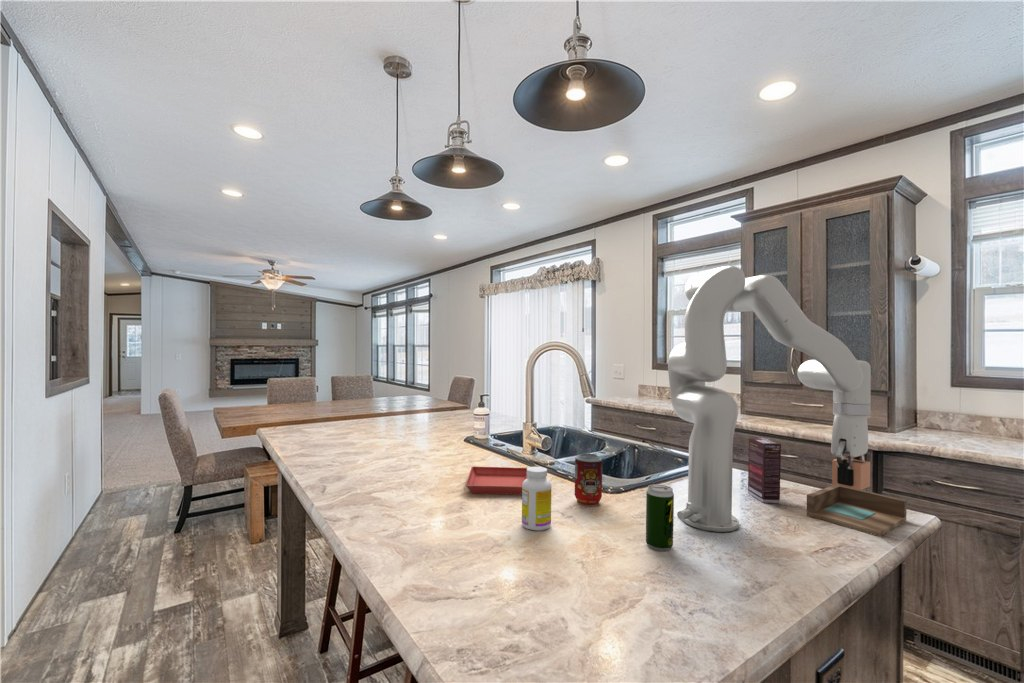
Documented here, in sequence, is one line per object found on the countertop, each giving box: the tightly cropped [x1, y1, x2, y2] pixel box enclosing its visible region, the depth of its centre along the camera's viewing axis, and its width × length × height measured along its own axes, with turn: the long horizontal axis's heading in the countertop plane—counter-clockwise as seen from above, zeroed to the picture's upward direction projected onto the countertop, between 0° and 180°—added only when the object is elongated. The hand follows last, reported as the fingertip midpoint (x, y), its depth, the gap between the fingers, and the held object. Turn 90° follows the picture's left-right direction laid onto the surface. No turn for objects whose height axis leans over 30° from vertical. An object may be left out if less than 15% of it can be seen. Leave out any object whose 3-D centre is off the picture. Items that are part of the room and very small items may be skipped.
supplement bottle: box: [521, 466, 552, 532], centre depth 105 cm, size 7×7×13 cm
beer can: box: [645, 483, 675, 552], centre depth 95 cm, size 5×5×12 cm
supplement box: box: [747, 436, 782, 504], centre depth 127 cm, size 9×5×16 cm, turn 179°
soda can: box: [574, 452, 603, 507], centre depth 121 cm, size 7×7×12 cm
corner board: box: [805, 484, 908, 537], centre depth 113 cm, size 17×15×5 cm
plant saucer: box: [465, 466, 528, 495], centre depth 134 cm, size 18×18×3 cm
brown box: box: [831, 458, 871, 490], centre depth 115 cm, size 6×6×6 cm
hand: (850, 481), depth 115 cm, fingers closed on brown box, 6 cm apart
